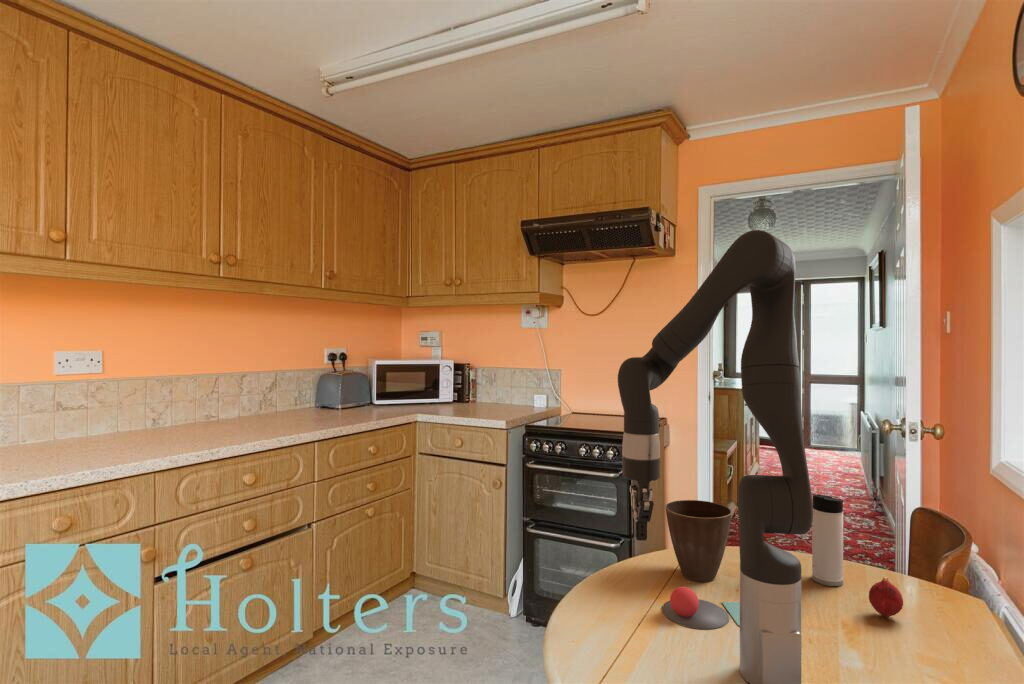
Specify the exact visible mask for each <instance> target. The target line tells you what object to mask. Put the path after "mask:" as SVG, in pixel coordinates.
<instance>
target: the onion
mask: <svg viewBox="0 0 1024 684" xmlns="http://www.w3.org/2000/svg"><path fill="white" fill-rule="evenodd" d="M868 600H869V603H870V604H871V607H873V609H874V610H875V612H877V613H878V614H880V615H881V616H882V617H883V618H889V617H893V616H895V615H898V613H900V612H901V610H902V609H903V606H904V598H903V596H902V593H901V591H900V589H898V588H897V587H896V586H895V585H894V584H892V583H891V582H890V579H889V578H888V577H887V576H884V577H882V580H881V581H878V582H876V583H874V584H873V585H872V586H871V587H870V590H869V591H868Z"/></svg>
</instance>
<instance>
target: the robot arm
mask: <svg viewBox="0 0 1024 684" xmlns="http://www.w3.org/2000/svg"><path fill="white" fill-rule="evenodd" d="M747 286H748V287H749V291H750V301H751V314H752V315H751V322H750V328H749V332H747V333H748V334H747V336H746V339H745V342H744V345H743V348H742V353H741V357H740V358H741V359H740V376H741V379H740V380H741V393H742V398H743V400H744V402H745V404H746V406H747V408H748V410H749V411H750V413H751V414H752V415H753V417H754V418H755V419H756V421H757V422H758V423H759V425H760V426H761V428H762V429H763V430H764V432H765V433H766V435H767V436H768V438H769V439H770V441H771V443H772V444H773V446H774V448H775V450H776V452H777V455H778V458H779V462H780V466H781V471H782V473H781V474H782V475H770V474H768V475H767V474H766V475H765V474H747V475H746V474H745V475H744V476H742V477H741V479H740V480H739V482H738V487H737V512H738V513H737V514H738V530H739V532H738V533H739V534H738V535H739V540H738V541H739V602H740V626H739V673H741V674H740V676H741V675H742V676H741V677H742V679H743V680H744V681H745V682H747V683H748V682H749V683H750V684H802V655H803V653H802V647H803V646H802V640H803V639H802V638H803V637H802V564H801V561H800V559H799V558H798V557H797V556H796V555H794V554H792V553H790V552H789V551H786V550H785V549H783V548H779V547H776V546H774V545H772V544H770V543H768V542H766V541H765V540H764V534H777V535H778V534H780V535H805V534H808V533H809V532H810V530H811V529H812V521H813V494H812V489H811V488H812V487H811V481H810V474H809V467H808V460H807V455H806V449H805V440H804V430H803V429H804V428H803V417H802V416H803V414H802V413H803V411H802V388H801V374H800V361H799V355H798V354H799V353H798V341H797V330H796V329H797V328H796V321H795V291H796V289H795V287H796V258H795V254H794V253H793V250H792V249H791V247H790V246H789V244H787V243H786V242H784V241H783V240H781V239H780V238H778V237H776V236H775V235H773V234H772V233H769V232H767V231H765V230H760V229H757V230H756V229H754V230H750V231H746V232H745V233H743V234H741V235H740V236H739V237H738V238H736V239H735V240H734V241H733V243H731V245H730V246H729V248H727V249H726V251H725V253H724V254H723V255H722V257H721V258H720V259H719V260H718V262H717V264H716V265H715V266H714V268H713V269H712V271H711V272H710V273H709V275H708V276H706V278H705V280H704V281H703V283H702V284H701V285H700V286H699V287H698V288H697V290H696V292H695V293H694V294H693V295H692V297H691V298H690V300H689V301H687V303H686V304H685V305H684V306H683V307H682V308H681V310H679V312H678V313H677V314H675V315H674V317H673V318H671V320H669V321H668V323H667V324H665V326H664V327H663V328H661V330H660V331H659V332H657V334H656V335H655V336H654V337H653V339H652V341H651V348H650V349H649V350H648V351H647V353H645V354H644V355H643V356H636V357H629V358H627V359H625V360H624V361H623V362H622V363H621V364H620V366H619V369H618V373H617V386H618V392H619V396H620V402H621V405H622V408H623V438H622V453H621V454H622V456H621V457H622V460H621V462H622V468H621V469H622V470H621V471H622V477H623V478H625V479H626V480H629V481H632V484H631V485H629V492H630V505H631V512H632V514H633V515H632V517H633V520H634V537H635V539H636V541H647V539H648V523H650V522H651V520H652V519H651V518H652V514H653V508H654V506H655V505H654V501H653V500H652V498H653V495H654V494H653V488H651V485H650V483H651V482H652V481H654V482H655V481H657V480H659V479H660V478H661V442H660V416H659V415H660V413H659V408H658V407H657V405H656V404H653V403H652V399H651V391H653V390H655V389H658V388H659V387H660V386H662V385H663V384H664V383H665V381H667V380H668V378H670V376H671V375H672V373H673V372H674V370H675V369H676V368H677V366H678V365H679V363H681V361H683V359H685V358H686V357H687V356H689V354H691V352H692V351H694V350H695V349H696V348H697V347H698V346H699V345H700V344H701V343H702V342H703V341H704V340H705V339H706V338H707V336H708V334H709V333H710V331H711V330H712V328H713V326H714V324H715V322H716V320H717V318H718V316H719V315H720V313H721V311H722V309H723V308H724V307H725V305H727V303H728V302H729V301H730V300H731V299H732V298H733V297H734V296H735V295H736V294H737V293H739V292H740V291H741V290H743V289H744V288H745V287H747ZM749 683H748V684H749Z"/></svg>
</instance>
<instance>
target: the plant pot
mask: <svg viewBox="0 0 1024 684" xmlns="http://www.w3.org/2000/svg"><path fill="white" fill-rule="evenodd" d="M664 507H665V513H666V514H665V515H666V519H667V520H666V521H667V526H668V531H669V532H668V533H669V537H670V539H671V543H672V548H673V550H674V551H673V552H674V555H675V557H676V560H677V563H678V565H679V569H680V572H681V573H682V576H683V577H684V578H685V579H687V580H690V581H694V582H697V583H699V582H700V583H701V582H702V583H708V582H709V583H710V582H712V581H714V580H715V579H716V577H717V574H718V571H719V569H720V566H721V564H722V561H723V558H724V555H725V551H726V548H727V547H726V546H727V542H728V538H729V534H730V533H729V532H730V527H731V521H732V520H731V519H732V515H733V512H732V509H731V508H729V507H728V506H726V505H723V504H720V503H717V502H713V501H707V500H700V499H699V500H697V499H696V500H695V499H683V500H673V501H670V502H668V503H666V505H665V506H664Z"/></svg>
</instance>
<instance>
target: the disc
mask: <svg viewBox="0 0 1024 684" xmlns="http://www.w3.org/2000/svg"><path fill="white" fill-rule="evenodd" d="M698 600H699V607H698V610H697V612H696V613H695V614H694V615H692V616H690V617H682V616H680V615H678V614H677V613H675V611H674V610H673V609H672V607H671V604H670V599H669V600H668V601H666V602H664V603H663V604H662V607H661V609H662V614H663V615H664V616H665V618H667V619H668V620H670V621H671V622H673V623H675V624H677V625H680V626H683V627H685V628H690V629H695V630H716V628H717V629H721V628H722V627H724V626H726V625H727V624H728V623H729V621H730V616H729V615H730V614H729V612H728V611H727V610H725V609H723V607H721V606H720V605H719V604H718V605H717V604H716V603H713V602H710V601H707V600H704V599H699V598H698Z"/></svg>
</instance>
